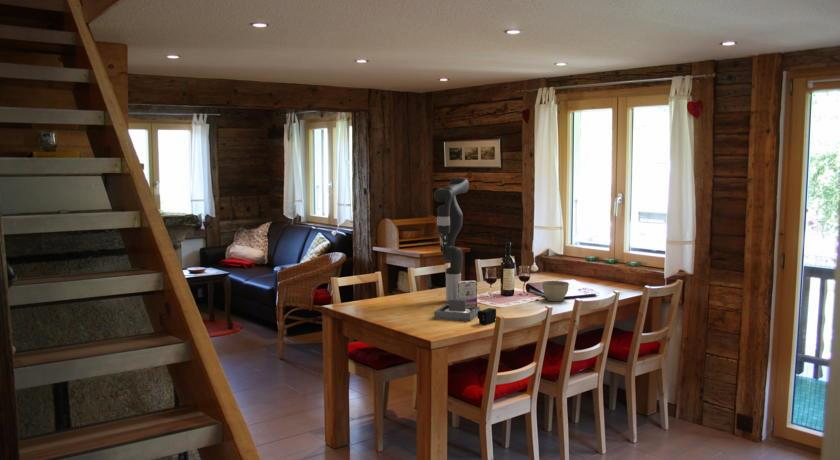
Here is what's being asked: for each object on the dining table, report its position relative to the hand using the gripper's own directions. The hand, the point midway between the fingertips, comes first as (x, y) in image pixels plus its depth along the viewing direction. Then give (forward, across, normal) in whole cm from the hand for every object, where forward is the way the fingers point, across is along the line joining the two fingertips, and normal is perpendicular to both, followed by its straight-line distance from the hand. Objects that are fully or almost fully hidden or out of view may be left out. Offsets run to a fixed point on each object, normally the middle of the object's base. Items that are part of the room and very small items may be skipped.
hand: (443, 252), depth 396 cm
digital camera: (+33, +34, +18) cm, 51 cm away
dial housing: (+33, +17, +5) cm, 38 cm away
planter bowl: (+33, -21, +71) cm, 81 cm away
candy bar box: (+33, 0, +13) cm, 36 cm away
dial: (+31, +17, +5) cm, 36 cm away
